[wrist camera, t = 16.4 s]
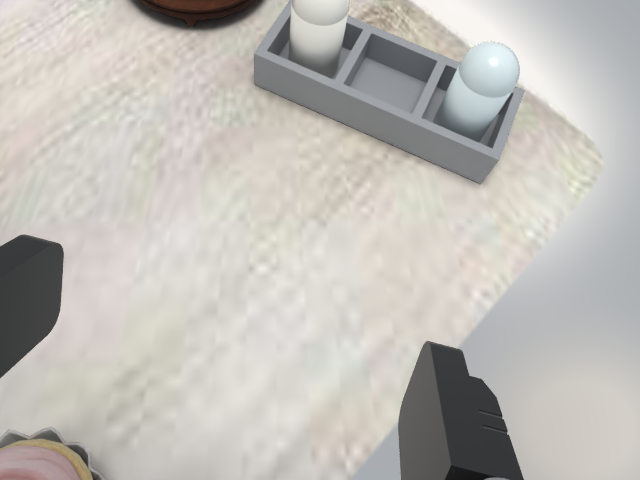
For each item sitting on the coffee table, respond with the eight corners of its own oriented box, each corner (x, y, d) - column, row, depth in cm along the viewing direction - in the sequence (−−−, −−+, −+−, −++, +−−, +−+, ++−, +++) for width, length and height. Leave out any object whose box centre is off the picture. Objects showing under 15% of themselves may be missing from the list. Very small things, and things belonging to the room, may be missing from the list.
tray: (254, 84, 48) (253, 53, 45) (292, 26, 52) (294, -8, 48) (480, 183, 47) (498, 160, 43) (505, 117, 50) (524, 90, 46)
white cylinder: (279, 71, 48) (282, -13, 39) (301, 37, 50) (308, -51, 41) (325, 91, 48) (339, 10, 39) (345, 56, 49) (362, -29, 41)
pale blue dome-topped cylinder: (426, 136, 47) (461, 62, 38) (442, 98, 49) (479, 19, 40) (475, 156, 46) (521, 86, 38) (489, 117, 48) (536, 42, 40)
